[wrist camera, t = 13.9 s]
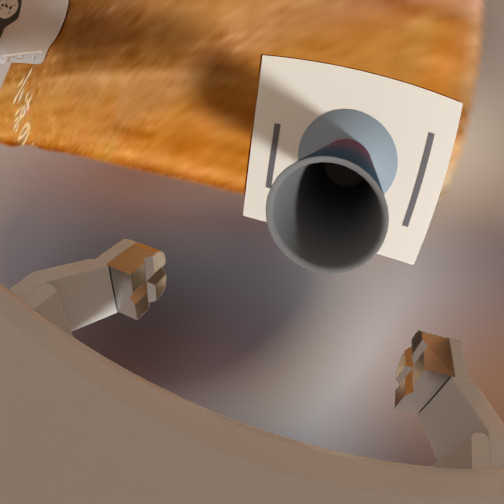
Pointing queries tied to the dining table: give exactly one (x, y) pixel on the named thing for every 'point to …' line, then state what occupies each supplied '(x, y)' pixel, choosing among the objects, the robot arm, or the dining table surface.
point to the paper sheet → (355, 138)
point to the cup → (329, 209)
